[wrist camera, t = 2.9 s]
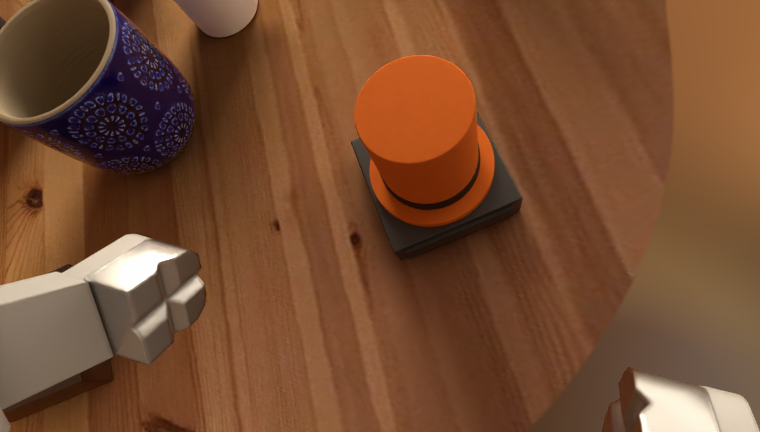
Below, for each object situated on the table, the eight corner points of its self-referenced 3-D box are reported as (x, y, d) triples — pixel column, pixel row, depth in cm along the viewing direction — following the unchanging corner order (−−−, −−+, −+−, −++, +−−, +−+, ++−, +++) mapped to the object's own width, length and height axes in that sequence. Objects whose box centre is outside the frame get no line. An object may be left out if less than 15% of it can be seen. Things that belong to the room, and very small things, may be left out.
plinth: (113, 380, 35) (80, 381, 32) (12, 422, 35) (-28, 427, 33) (99, 271, 38) (68, 263, 35) (7, 311, 39) (-30, 307, 36)
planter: (235, 96, 40) (146, 3, 30) (170, 206, 38) (51, 148, 28) (146, 64, 44) (39, -29, 33) (82, 163, 42) (-52, 97, 31)
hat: (516, 196, 29) (525, 139, 22) (396, 246, 30) (365, 209, 23) (463, 94, 32) (456, 14, 25) (355, 142, 33) (316, 79, 26)
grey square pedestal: (522, 213, 32) (524, 201, 29) (401, 263, 32) (394, 256, 30) (467, 107, 35) (465, 89, 32) (359, 155, 36) (350, 141, 33)
